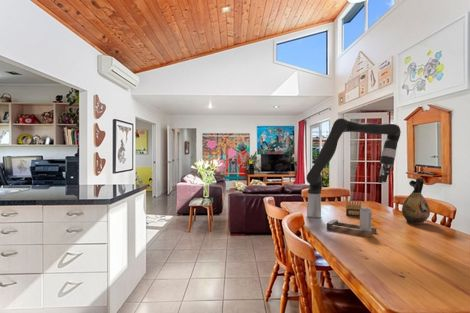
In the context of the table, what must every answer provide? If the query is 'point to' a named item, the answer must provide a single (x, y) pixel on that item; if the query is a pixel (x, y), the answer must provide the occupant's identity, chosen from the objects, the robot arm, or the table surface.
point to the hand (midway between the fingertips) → (382, 182)
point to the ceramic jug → (416, 204)
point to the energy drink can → (365, 218)
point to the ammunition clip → (353, 208)
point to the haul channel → (349, 228)
